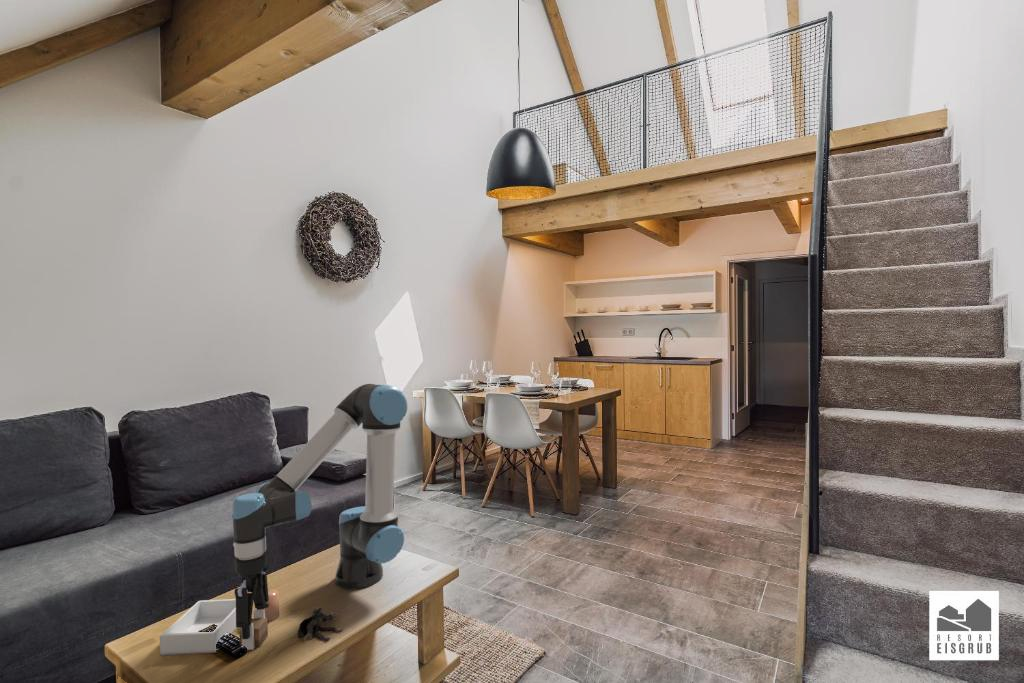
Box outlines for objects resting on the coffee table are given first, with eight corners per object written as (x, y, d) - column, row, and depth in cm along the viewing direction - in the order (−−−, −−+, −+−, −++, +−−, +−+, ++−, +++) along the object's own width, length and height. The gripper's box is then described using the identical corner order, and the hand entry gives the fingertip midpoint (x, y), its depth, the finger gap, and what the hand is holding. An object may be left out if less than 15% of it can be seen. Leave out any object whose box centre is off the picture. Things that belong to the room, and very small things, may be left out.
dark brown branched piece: (316, 645, 132) (293, 608, 138) (305, 668, 136) (282, 631, 141) (354, 622, 142) (330, 589, 147) (342, 645, 145) (320, 611, 151)
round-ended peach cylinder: (282, 612, 150) (281, 588, 150) (275, 621, 145) (274, 597, 145) (264, 613, 150) (264, 589, 150) (257, 622, 145) (256, 598, 145)
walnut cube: (267, 636, 138) (267, 618, 138) (259, 647, 133) (258, 628, 133) (249, 637, 138) (248, 619, 138) (239, 648, 133) (239, 629, 133)
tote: (247, 615, 149) (246, 598, 149) (214, 652, 132) (214, 633, 132) (199, 617, 149) (198, 600, 149) (160, 655, 131) (159, 635, 131)
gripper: (252, 540, 145) (256, 622, 145) (216, 571, 126) (221, 665, 126) (279, 539, 145) (283, 620, 145) (248, 569, 126) (252, 663, 126)
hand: (254, 641), depth 136 cm, fingers open, 6 cm apart
